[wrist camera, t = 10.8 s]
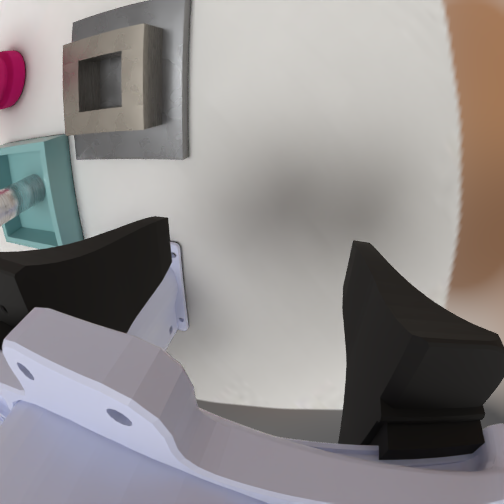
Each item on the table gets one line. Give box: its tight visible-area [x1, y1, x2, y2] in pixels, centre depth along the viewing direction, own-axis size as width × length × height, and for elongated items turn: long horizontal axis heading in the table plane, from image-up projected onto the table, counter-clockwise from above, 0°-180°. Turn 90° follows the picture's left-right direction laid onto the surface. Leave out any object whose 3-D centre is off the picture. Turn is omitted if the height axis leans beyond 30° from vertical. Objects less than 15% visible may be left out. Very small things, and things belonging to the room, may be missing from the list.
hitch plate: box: [63, 0, 191, 160], centre depth 18 cm, size 12×10×4 cm
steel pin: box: [0, 174, 45, 226], centre depth 21 cm, size 3×3×8 cm
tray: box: [0, 134, 84, 249], centre depth 24 cm, size 10×10×3 cm
